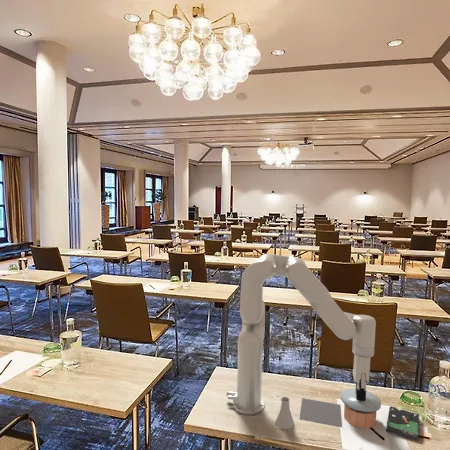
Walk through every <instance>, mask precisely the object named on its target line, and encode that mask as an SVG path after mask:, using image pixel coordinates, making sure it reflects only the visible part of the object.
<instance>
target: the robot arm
mask: <svg viewBox="0 0 450 450" xmlns="http://www.w3.org/2000/svg"><path fill="white" fill-rule="evenodd" d="M274 276H278V277H285V278H287V281H289V282H290V283H291V284H292V286H294V288H295V289H296V290H297V291H298V293H300V294H301V296H303V298H304V299H305V301H307V302H308V303H309V305H310V306H311V308H312V309H313V310H314V311H315V312H316V313H317V315H318V316H319V318H321V319H322V321H323V322H324V323H325V324H326V326H327V327H328V328H329V329H330V330H331V331H332V332H333V334H335V336H336V338H339V339H341V340H343V341H349V340H352V345H351V346H352V347H351V348H352V349H351V351H352V353H353V354H354V356H353V367H352V376H353V381H354V383H355V389H356V388H357V385H358V389H357V394H356V399H357V400H361V401H366V391H367V385H368V384H369V383H370V374H371V373H370V372H371V358H372V357H374V355H375V345H376V344H375V343H376V341H375V340H376V327H377V325H376V324H377V322H376V318H375V317H373V316H371V315H368V314H367V315H366V314H354V313H350V312H345V311H343V310H342V309H341V307H340V306H339V305H338V304H337V302H336V301H335V300H334V298H333V297H332V295H331V292H330V291H329V290H328V288H327V287H326V286H325V285H324V283H322V282H321V281H320V279H318V277H317V276H316V275H315V274H314V273H313V272H312V270H311V269H310V268H309V267H308V265H306V262H305V261H304V260H303V259H302V258H300V257H297V256H291V255H290V256H289V255H280V254H273V253H265V254H262V255H260V256H259V257H258V258H257V259H256V260H255V261H253V262H252V263H250V264H249V265H248V266H247V267H246V268H245V270H244V271H243V273H242V276H241V282H240V298H239V299H240V301H239V302H240V303H239V304H240V306H239V317H240V318H241V330H240V332H239V335H238V338H237V376H236V377H237V379H236V381H237V383H236V390H235V391H233V390H232V391H231V390H227V391H226V395H225V396H226V397H227V399H228V400H232V407H233V409H234V410H235V411H236V412H238V413H240V414H243V415H247V416H253V415H259V414H260V413H261V412H262V411H263V410H264V409H265V406H266V404H265V402H264V400H263V399H262V380H263V378H262V377H263V347H264V338H265V333H266V332H265V331H266V328H265V327H266V325H265V324H266V304H265V302H264V299H263V292H264V287H263V286H264V283H265V282H266V281H267V280H269V279H272V278H273V277H274ZM355 393H356V392H355Z"/></svg>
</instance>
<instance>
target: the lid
mask: <svg viewBox="0 0 450 450" xmlns="http://www.w3.org/2000/svg"><path fill="white" fill-rule="evenodd" d="M357 389H358V385H357V388H356V387H355V388H348V389H344V390H342V392H340V400H341V402H342V403H343V404H345V405H347V406H348V407H350V408H352V409H355V410H358V411H363V412H374V411H379V410H380V409H381V408H382V401H381V399H380V398H379V397H378V395H376V394H374V393H372V392H369V391H368V390H366V401H361V400H357V399H356V394H357ZM355 392H356V393H355Z"/></svg>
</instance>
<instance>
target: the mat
mask: <svg viewBox="0 0 450 450" xmlns="http://www.w3.org/2000/svg"><path fill="white" fill-rule="evenodd" d="M300 405H301V406H300V412H299V413H300V414H299V420H303V421H307V422H308V421H309V422H312V423H317V424H324V425H328V426H335V427H340V428H343V422H342V419H343V418H342V409H341V408H342V406H341V404H340V403H339V404H338V403H334V402H327V401H320V400H316V399H310V398H309V399H308V398H303V397H302V398H301V404H300Z"/></svg>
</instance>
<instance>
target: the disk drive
mask: <svg viewBox="0 0 450 450" xmlns="http://www.w3.org/2000/svg"><path fill="white" fill-rule="evenodd" d="M388 409H389V410H388V416H387V422H386V432H387V433H390V434H393V435H397V436H399V437H403V438H406V439H409V440H413V441H415V442H419V440H420V439H419V437H420V414H419V413H416V412H412V411H409V410H405V409H398V408H397V407H395V406H390V405H389V408H388Z"/></svg>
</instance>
